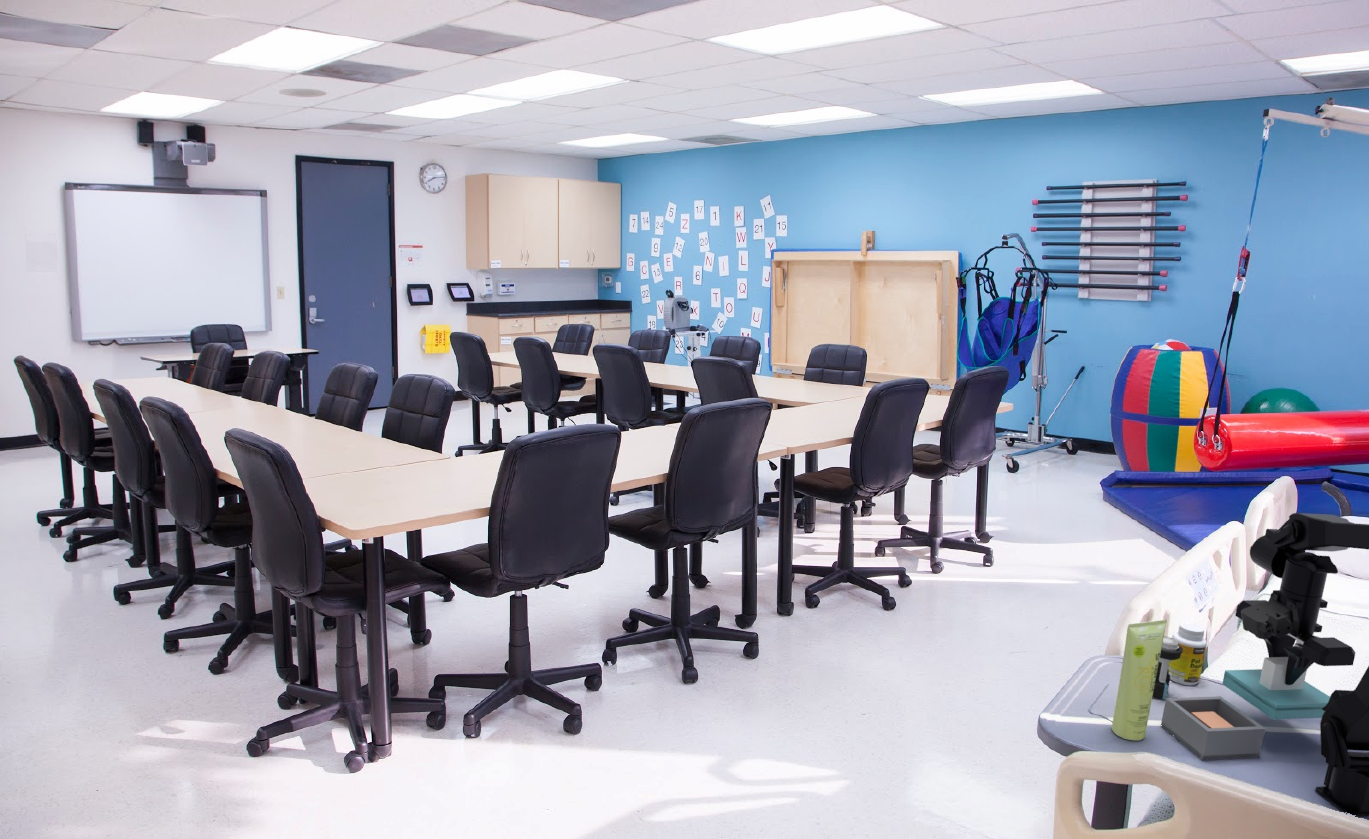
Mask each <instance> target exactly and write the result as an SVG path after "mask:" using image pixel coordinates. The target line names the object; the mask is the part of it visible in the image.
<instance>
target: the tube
mask: <svg viewBox="0 0 1369 839" xmlns="http://www.w3.org/2000/svg"><path fill="white" fill-rule="evenodd" d="M1166 628H1167V618H1165V619H1160V620H1152V621H1151V620H1150V621H1142V622H1135V623H1128V625H1127V629H1126V635H1125V644H1124V651H1123V658H1122V664H1121V669H1120V670H1121V671H1120V675H1119V684H1118V689H1117V694H1116V700H1115V706H1114V714H1113V717H1112V718H1113V719H1112V724H1111V730H1112V732H1113V733H1114V734H1115V735H1117V736H1118V737H1120V738H1122V739H1125V740H1127V741H1141V740H1144V738H1145V737H1146V732H1147V728H1148V727H1147V726H1148V722H1149V717H1150V711H1151V706H1152V700H1153V698H1152V696H1153V690H1154V685H1155V680H1156V675H1157V669H1158V664H1159V659H1160V654H1161V648H1162V643H1163V638H1164V636H1165V633H1166Z"/></svg>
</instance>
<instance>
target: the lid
mask: <svg viewBox="0 0 1369 839" xmlns="http://www.w3.org/2000/svg"><path fill="white" fill-rule="evenodd" d="M1287 663H1288V657H1269V656H1268V657H1264V658H1263V663H1262V668H1260V669H1259V668H1258V669H1233V670H1232V669H1228V670H1227V669H1226V670H1224V674H1223V679H1222V685H1223V686H1224V687H1226V688H1227V689H1228V690H1230V692H1232V693H1234V694H1236V695H1237V696H1239V697H1240V698H1242V699H1243V701H1246V702H1247V703H1248V704H1250V705H1252V706H1253V707H1254V708H1256V709H1257V710H1259V711H1260V712H1262V713H1263V714H1265V715H1266V716H1267V717H1269V718H1270V719H1271V720H1274V721H1276V720H1297V719H1298V720H1300V719H1319V718H1320V719H1322V716H1323V714H1324V712H1325V711H1323V710H1322V708H1323V707H1325V706H1326V705H1327V703H1328V701H1329V699H1330V696H1331V695H1328V694H1326V693H1325V692H1324V691H1321V690H1320V689H1318V688H1317V687H1316V686H1313V685H1312V684H1310V683H1309V682H1307V681H1305V680H1306V677H1307V671H1308V669H1307V670H1306V671H1305V672H1304V673H1303V674H1302V675H1301V676H1300V677H1299V678H1298V679H1297V680H1296V681H1295V682H1294V684H1292V685H1286V684H1285V675H1286V669H1287Z"/></svg>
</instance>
